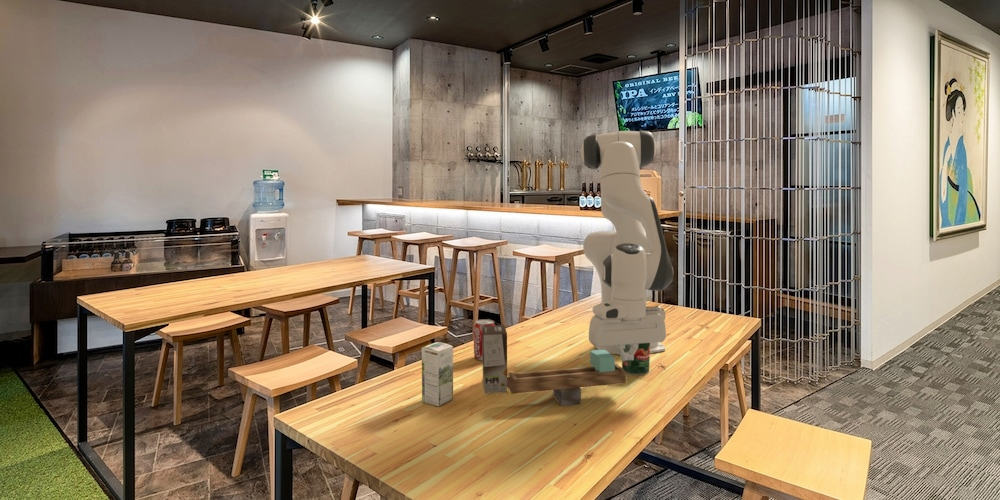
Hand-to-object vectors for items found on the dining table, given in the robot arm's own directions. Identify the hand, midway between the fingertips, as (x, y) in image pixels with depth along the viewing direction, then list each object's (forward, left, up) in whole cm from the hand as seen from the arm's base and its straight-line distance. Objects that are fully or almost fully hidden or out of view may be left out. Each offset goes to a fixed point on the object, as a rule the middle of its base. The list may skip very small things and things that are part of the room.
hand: (627, 360), depth 139 cm
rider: (+7, 0, -3) cm, 7 cm away
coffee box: (+32, -13, -9) cm, 36 cm away
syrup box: (+48, -7, -9) cm, 50 cm away
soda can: (+30, -37, -9) cm, 49 cm away
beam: (+16, 0, -9) cm, 19 cm away
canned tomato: (-11, -16, -9) cm, 21 cm away
